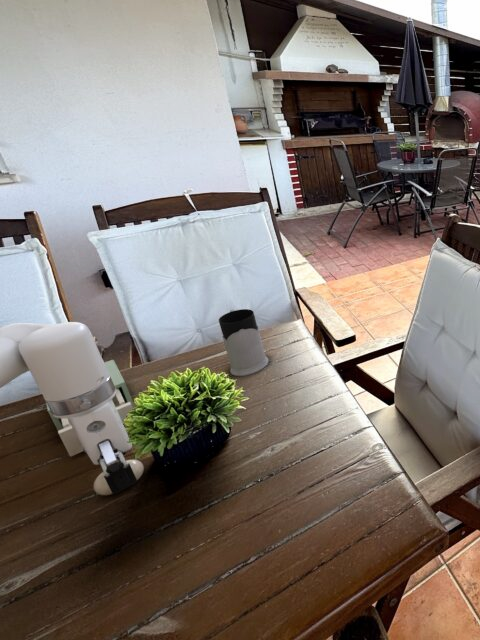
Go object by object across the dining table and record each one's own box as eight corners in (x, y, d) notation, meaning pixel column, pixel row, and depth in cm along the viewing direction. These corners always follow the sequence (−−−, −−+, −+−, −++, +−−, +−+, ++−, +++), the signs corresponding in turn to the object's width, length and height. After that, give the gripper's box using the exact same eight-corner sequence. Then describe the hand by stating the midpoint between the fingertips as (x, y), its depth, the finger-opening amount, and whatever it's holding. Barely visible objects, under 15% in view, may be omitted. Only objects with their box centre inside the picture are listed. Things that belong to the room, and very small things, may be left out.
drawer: (146, 439, 82) (137, 417, 79) (74, 473, 74) (62, 449, 72) (127, 400, 92) (119, 380, 90) (63, 426, 85) (52, 404, 83)
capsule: (100, 506, 69) (91, 487, 67) (96, 491, 71) (87, 473, 70) (149, 480, 74) (142, 462, 72) (144, 467, 76) (136, 449, 75)
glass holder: (233, 380, 101) (218, 328, 96) (224, 356, 111) (209, 308, 105) (272, 366, 106) (259, 316, 101) (259, 344, 116) (248, 298, 111)
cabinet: (136, 409, 91) (124, 382, 88) (62, 440, 83) (47, 410, 80) (123, 385, 99) (113, 359, 96) (55, 411, 91) (42, 383, 88)
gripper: (123, 405, 63) (158, 484, 69) (104, 364, 73) (136, 436, 79) (54, 433, 58) (98, 517, 64) (44, 385, 68) (83, 461, 74)
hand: (119, 472), depth 72 cm, fingers open, 9 cm apart
